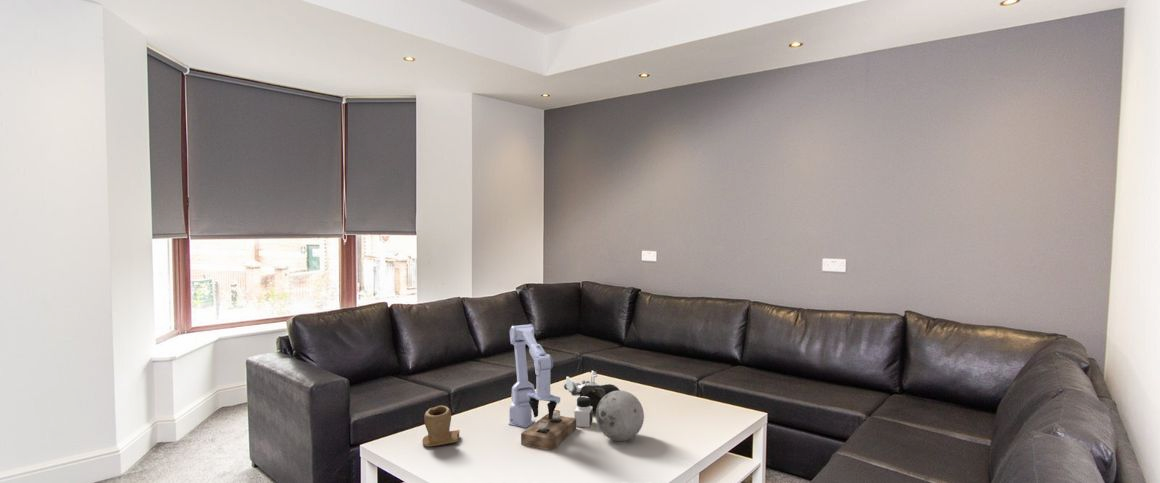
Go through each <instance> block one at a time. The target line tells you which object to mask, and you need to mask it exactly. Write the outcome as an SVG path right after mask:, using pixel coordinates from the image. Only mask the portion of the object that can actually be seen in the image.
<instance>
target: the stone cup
mask: <svg viewBox="0 0 1160 483" xmlns="http://www.w3.org/2000/svg"><path fill="white" fill-rule="evenodd" d="M423 417H424V425H425V428H426V431H427V435H425V436H424V437H422V440H421V441H422V444H423V445H424V446H425V447H436V446H442V445H449V444H453V443H456V442H458V441H459V438H460V433H461V432H460V429H456V430H450V428H451V421H452V412H451V409H450V408H449V407H448V406H446V405H437V406H434V407H430V408H428V410H426V411H425V413H424V415H423Z"/></svg>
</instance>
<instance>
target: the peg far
mask: <svg viewBox="0 0 1160 483" xmlns="http://www.w3.org/2000/svg"><path fill="white" fill-rule="evenodd" d="M560 416H561V411H560V410H558V409H555V410H554V413H553V417H552V422H553V423H560Z"/></svg>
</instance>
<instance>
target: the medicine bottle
mask: <svg viewBox="0 0 1160 483" xmlns="http://www.w3.org/2000/svg"><path fill="white" fill-rule="evenodd" d="M573 412H574V413H573V415H574V417H573V418H576V428H577V427H578V428H591V426H592V424H593V421H594V418H593V416H594V412H593V407H591V406H590V398H589V397H585V396H582V397H580V396H578V397H577V399H576V408H575V409H574V411H573Z"/></svg>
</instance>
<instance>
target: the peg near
mask: <svg viewBox="0 0 1160 483" xmlns="http://www.w3.org/2000/svg"><path fill="white" fill-rule="evenodd" d="M538 421H539V433H544V434H545V433H547V432H548V421H547V420H540V419H539V420H538Z"/></svg>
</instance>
